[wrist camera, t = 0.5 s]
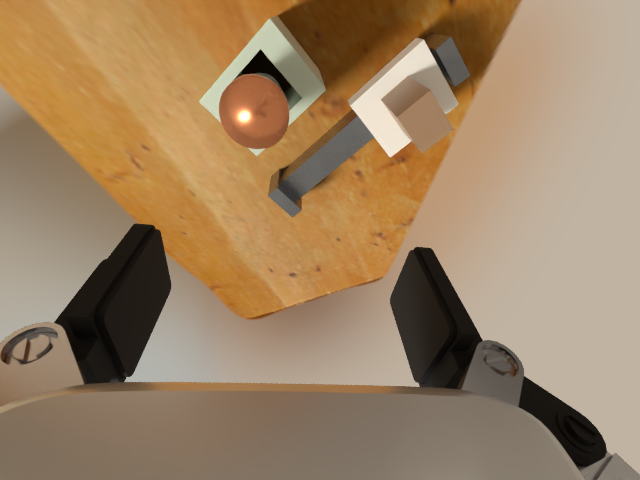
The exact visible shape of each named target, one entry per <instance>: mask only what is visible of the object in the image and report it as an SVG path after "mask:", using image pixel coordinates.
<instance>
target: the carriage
mask: <svg viewBox="0 0 640 480" xmlns="http://www.w3.org/2000/svg"><path fill="white" fill-rule="evenodd" d="M348 102H349V104H350V106H351V107H352V109H353V110H354V111H355V113H356V114H357V115H358V116H359V118H360V119H361V120H362V122H363V123H364V124H365V126H366V127H367V128H368V130H369V131H370V132H371V133H372V135H373V136H374V137H375V139H376V140H377V141H378V143H379V144H380V145H381V146H382V148H383V149H384V150H385V152H386V153H387V154H388V156H389V157H392V156H393V155H394V154H395V153H397V152H398V151H399V150H401V149H402V148H403V147H404V146H406V145H407V144H408V143H410V142H411V141H412V143H413V144H414V145H415V146H416V147H417V148H418V150H419V151H420V152H421V153H424V152H425V151H426V150H428V149H429V148H430V147H432V146H433V145H434V144H436V143H437V142H438V141H440V140H441V139H442V138H444V137H445V136H446V135H448V134H449V133H450V132H452V131H453V130H454V129H453V127H452V126H451V124H450V122H449V120H448V119H447V117H446V114H447V113H448V112H450V111H451V110H452V109H454V108H455V107H456V106H457V105H459V103H458V101H457V100H456V98H455V96H454V94H453V92H452V90H451V89H450V87H449V85H448V83H447V81H446V79H445V78H444V76H443V74H442V72H441V70H440V68H439V66H438V65H437V63H436V61H435V59H434V57H433V55H432V54H431V52H430V50H429V48H428V46H427V44H426V43H425V41H424V39H420V38H416V39H415V40H413V41H412V42H411V43H410V44H409V45H408V46H407V47H406V48H404V49H403V50H402V51H401V52H400V53H399V54H398V55H397V56H396V57H395V58H393V59H392V60H391V61H390V62H389V63H388V64H387V65H386V66H385V67H384V68H382V69H381V70H380V71H379V72H378V73H377V74H376V75H375V76H374V77H373V78H372V79H370V80H369V81H368V82H367V83H366V84H365V85H364V86H363V87H362V88H361V89H359V90H358V91H357V92H356V93H355V94H354V95H353V96H352V97H351V98H350V99H348Z"/></svg>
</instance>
